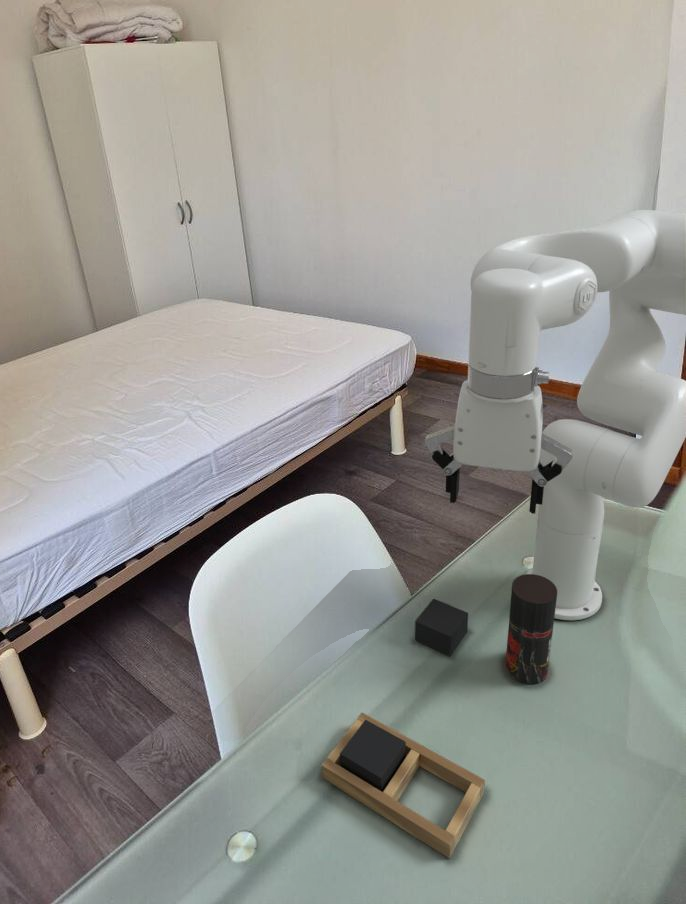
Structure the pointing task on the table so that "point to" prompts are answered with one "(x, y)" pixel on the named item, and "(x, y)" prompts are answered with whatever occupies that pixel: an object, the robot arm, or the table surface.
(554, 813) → the table surface
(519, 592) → the deodorant
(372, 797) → the frame
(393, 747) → the pad seated
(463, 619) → the pad loose
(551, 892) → the table surface
